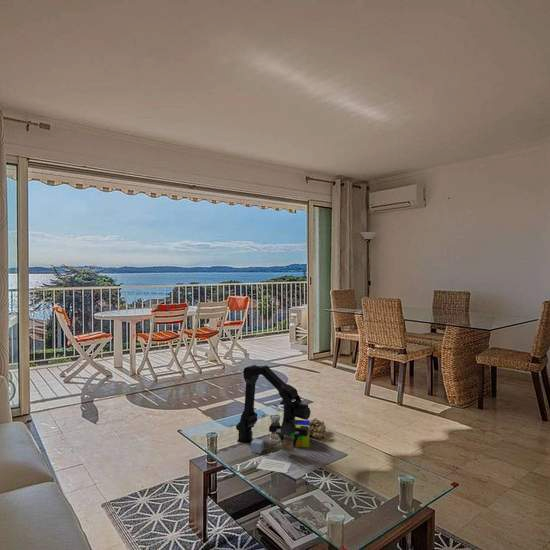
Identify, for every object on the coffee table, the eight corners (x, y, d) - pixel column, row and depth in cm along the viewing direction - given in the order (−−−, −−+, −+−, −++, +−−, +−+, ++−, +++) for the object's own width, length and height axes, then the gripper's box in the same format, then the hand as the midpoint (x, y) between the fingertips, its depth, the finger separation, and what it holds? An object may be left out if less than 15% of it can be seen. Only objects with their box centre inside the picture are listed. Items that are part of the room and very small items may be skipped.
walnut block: (282, 450, 194) (282, 439, 194) (284, 445, 199) (285, 435, 199) (292, 451, 193) (292, 441, 193) (294, 447, 198) (295, 437, 197)
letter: (256, 468, 182) (256, 468, 182) (262, 458, 192) (262, 458, 192) (286, 473, 179) (286, 473, 179) (291, 463, 188) (291, 462, 188)
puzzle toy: (309, 439, 215) (309, 420, 215) (309, 447, 205) (309, 427, 205) (290, 438, 216) (290, 419, 216) (289, 446, 206) (289, 426, 206)
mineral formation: (298, 436, 219) (310, 425, 232) (320, 446, 212) (331, 434, 225) (300, 422, 217) (312, 412, 230) (323, 431, 211) (334, 420, 224)
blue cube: (250, 452, 198) (251, 442, 198) (254, 448, 203) (254, 438, 203) (260, 454, 197) (260, 444, 197) (263, 449, 202) (263, 439, 202)
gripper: (266, 418, 190) (265, 451, 191) (305, 423, 185) (304, 456, 186) (272, 410, 201) (271, 441, 201) (309, 414, 196) (308, 446, 196)
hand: (288, 446), depth 196 cm, fingers closed on walnut block, 5 cm apart
